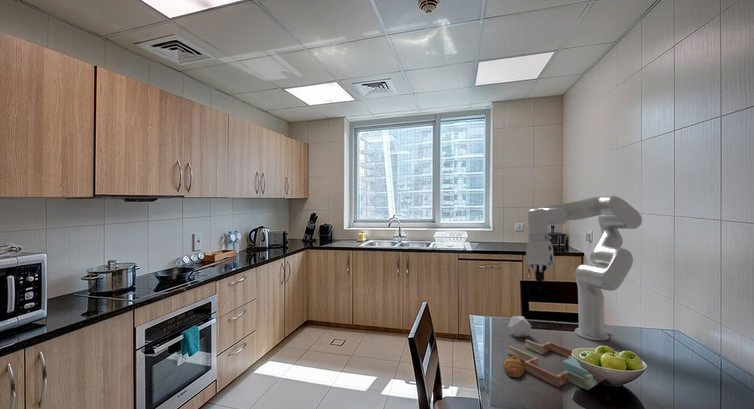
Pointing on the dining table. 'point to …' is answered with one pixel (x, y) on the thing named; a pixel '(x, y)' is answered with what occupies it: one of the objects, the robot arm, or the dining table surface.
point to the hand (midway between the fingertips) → (539, 280)
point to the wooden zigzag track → (556, 380)
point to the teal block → (574, 367)
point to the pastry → (513, 367)
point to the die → (519, 326)
